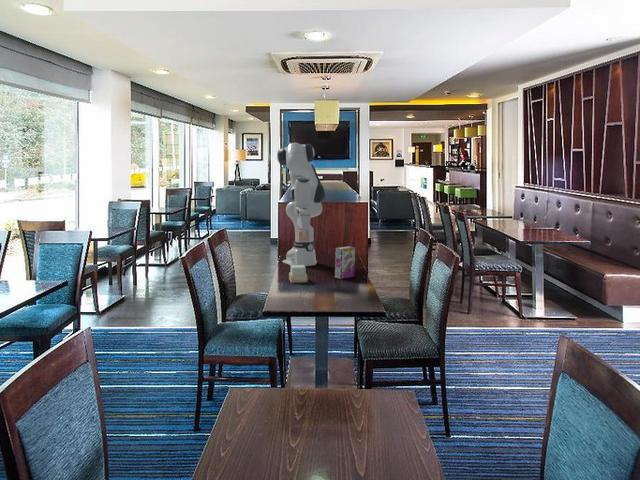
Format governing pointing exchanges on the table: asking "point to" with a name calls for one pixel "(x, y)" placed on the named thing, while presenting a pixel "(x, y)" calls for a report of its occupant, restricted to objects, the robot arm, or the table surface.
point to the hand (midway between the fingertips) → (303, 236)
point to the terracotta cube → (302, 237)
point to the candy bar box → (344, 262)
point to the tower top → (298, 270)
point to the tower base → (297, 278)
